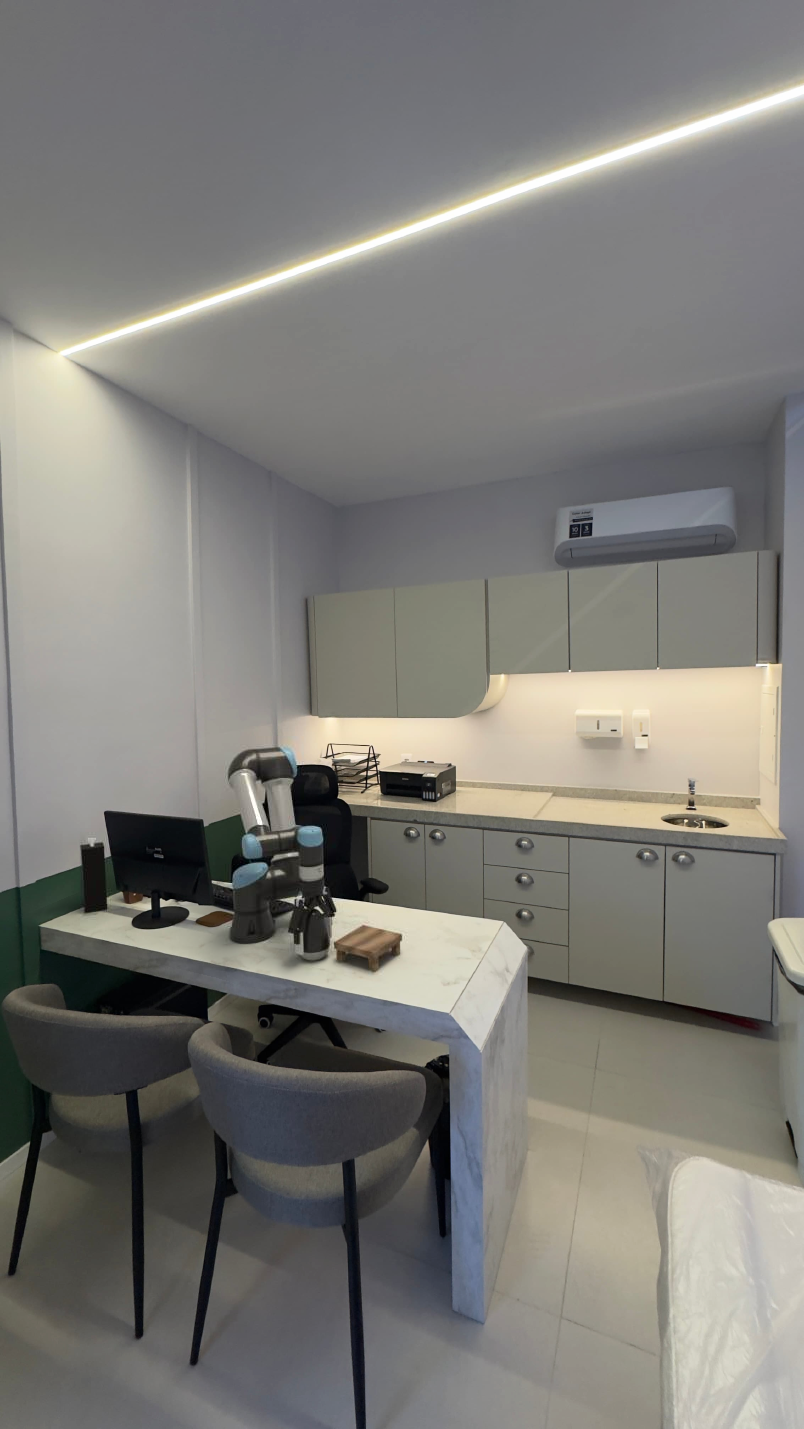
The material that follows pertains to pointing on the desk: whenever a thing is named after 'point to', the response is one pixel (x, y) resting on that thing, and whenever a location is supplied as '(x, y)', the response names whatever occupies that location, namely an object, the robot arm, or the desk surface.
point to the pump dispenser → (315, 936)
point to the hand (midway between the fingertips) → (314, 945)
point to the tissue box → (93, 876)
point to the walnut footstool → (368, 944)
